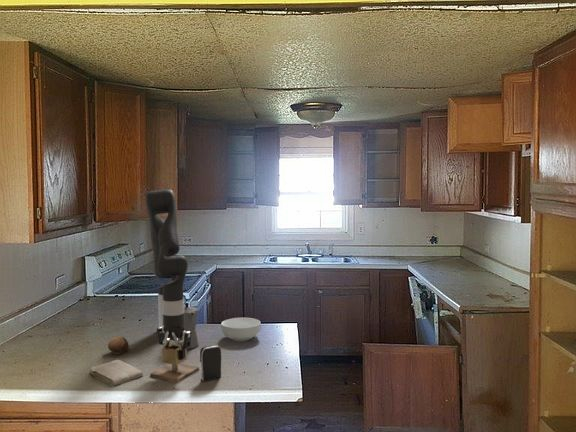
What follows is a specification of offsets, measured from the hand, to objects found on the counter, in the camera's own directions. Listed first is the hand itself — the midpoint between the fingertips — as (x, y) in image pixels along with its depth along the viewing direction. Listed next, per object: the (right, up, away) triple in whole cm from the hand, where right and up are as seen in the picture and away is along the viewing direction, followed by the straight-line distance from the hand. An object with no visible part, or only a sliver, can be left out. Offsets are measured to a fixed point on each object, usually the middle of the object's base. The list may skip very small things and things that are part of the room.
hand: (174, 357), depth 180 cm
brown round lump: (-27, -4, +22) cm, 35 cm away
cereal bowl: (+20, -3, +38) cm, 43 cm away
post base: (0, -6, 0) cm, 6 cm away
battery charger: (+13, -6, -4) cm, 15 cm away
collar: (0, -1, 0) cm, 1 cm away
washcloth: (-21, -6, -1) cm, 22 cm away
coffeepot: (-2, -3, +30) cm, 31 cm away
